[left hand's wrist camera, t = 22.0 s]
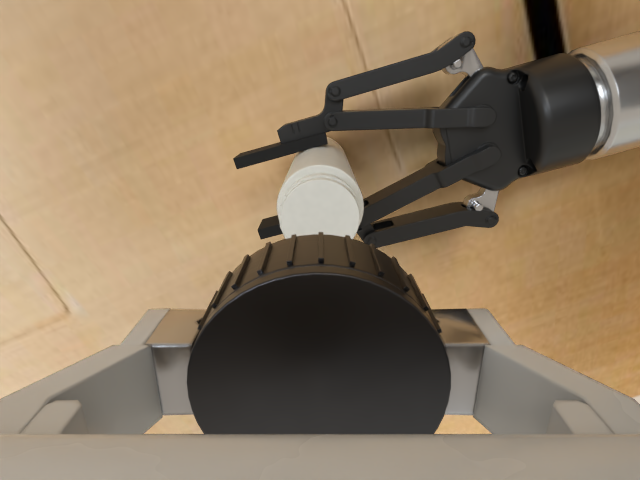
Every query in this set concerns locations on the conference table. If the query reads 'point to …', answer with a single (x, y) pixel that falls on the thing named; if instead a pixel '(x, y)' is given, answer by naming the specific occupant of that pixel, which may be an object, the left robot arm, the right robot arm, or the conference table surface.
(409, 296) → the lid
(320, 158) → the white bottle
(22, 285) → the conference table surface
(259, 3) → the conference table surface
